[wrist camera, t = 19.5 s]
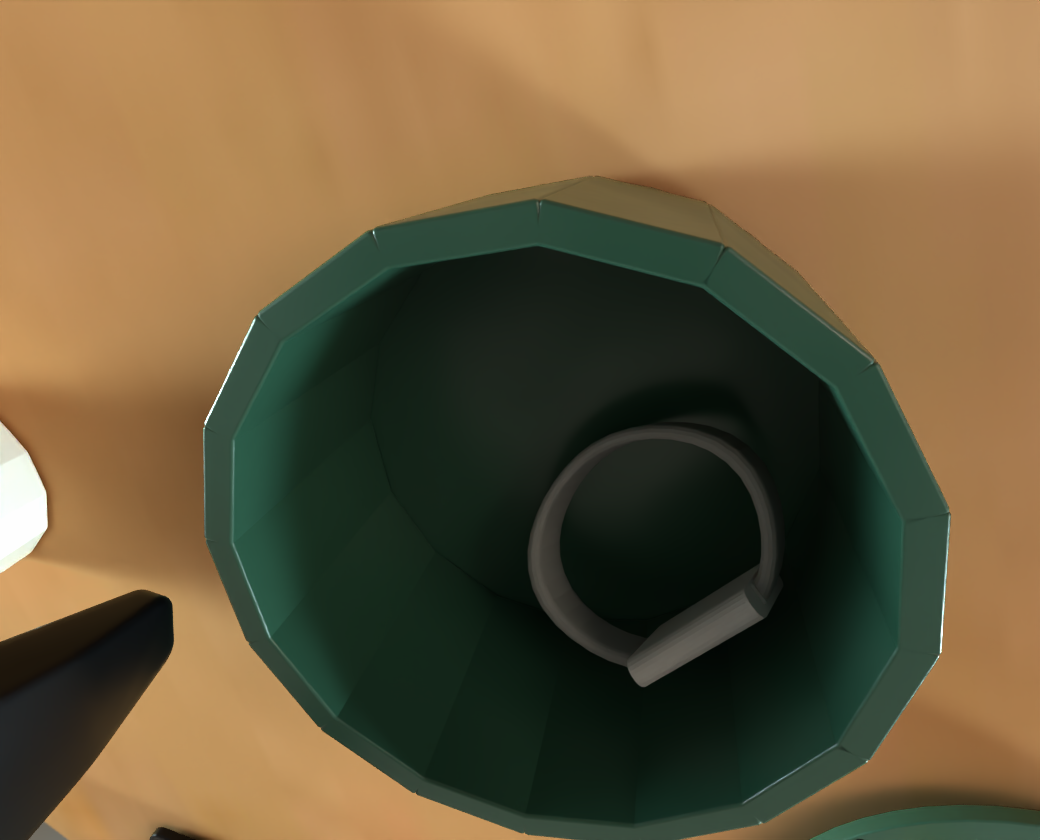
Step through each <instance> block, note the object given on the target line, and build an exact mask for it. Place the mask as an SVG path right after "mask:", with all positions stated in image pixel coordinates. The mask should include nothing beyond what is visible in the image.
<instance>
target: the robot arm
mask: <svg viewBox="0 0 1040 840" xmlns="http://www.w3.org/2000/svg"><path fill="white" fill-rule="evenodd" d="M173 643H174V632H173V609H172V603H171V601H170V599H169V598H167V597H166V596H163V595H160V594H157V593H154V592H151V591H148V590H136V591H133V592H130V593H127V594H125V595H122V596H119V597H117V598H114V599H112V600H109V601H106V602H104V603H101V604H98V605H96V606H93V607H91V608H88V609H85V610H83V611H80V612H77V613H75V614H72V615H70V616H67V617H64V618H62V619H59V620H56V621H54V622H51V623H49V624H46V625H43V626H41V627H38V628H36V629H33V630H30V631H28V632H25V633H22V634H20V635H17V636H15V637H12V638H9V639H7V640H4V641H1V642H0V840H28V839H29V838H30V837H31V836H32V835H33V833H34V832H35V831H36V830H37V829H38V828H39V826H40V825H41V824H42V823H43V822H44V821H45V819H46V818H47V817H48V816H49V815H50V814H51V812H52V811H53V810H54V809H55V808H56V807H57V805H58V804H59V803H60V802H61V801H62V800H63V798H64V797H65V796H66V795H67V794H68V793H69V791H70V790H71V789H72V788H73V787H74V786H75V784H76V783H77V782H78V781H79V780H80V778H81V777H82V776H83V775H84V774H85V772H86V771H87V770H88V769H89V768H90V766H91V765H92V764H93V762H94V761H95V760H96V758H97V757H98V756H99V754H100V753H101V752H102V750H103V749H104V748H105V746H106V745H107V743H108V742H109V741H110V739H111V738H112V736H113V735H114V734H115V732H116V731H117V729H118V728H119V727H120V725H121V724H122V722H123V721H124V720H125V718H126V717H127V715H128V714H129V713H130V711H131V710H132V708H133V707H134V706H135V704H136V703H137V701H138V700H139V699H140V697H141V696H142V694H143V693H144V692H145V690H146V689H147V687H148V686H149V685H150V683H151V682H152V680H153V679H154V678H155V676H156V675H157V673H158V672H159V671H160V669H161V668H162V666H163V665H164V664H165V662H166V661H167V659H168V657H169V655H170V653H171V651H172V648H173ZM150 840H195V839H192V838H190V837H187V836H185V835H182V834H179V833H177V832H174V831H172V830H169V829H167V828H163V827H159V828H157V829H156V831H155V832H154V833H153V835H152V836H151V837H150ZM856 840H863V839H856Z"/></svg>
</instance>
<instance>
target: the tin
mask: <svg viewBox="0 0 1040 840" xmlns="http://www.w3.org/2000/svg"><path fill="white" fill-rule="evenodd" d="M663 422H689V423H695V424H701V425H707V426H711V427H714V428H717V429H719V430H722V431H725V432H728V433H730V434H732V435H734V436H735V437H737V438H738V439H740V440H741V441H743V442H744V443H746V444H747V445H749V446H750V447H751V448H752V450H753V451H754V452H755V453H756V454H757V455H758V456H759V457H760V458H761V459H762V461H763V462H764V463H765V465H766V467H767V469H768V471H769V473H770V474H771V476H772V478H773V480H774V482H775V485H776V489H777V492H778V495H779V498H780V501H781V506H782V512H783V518H784V524H785V550H784V557H783V564H782V568H781V571H780V574H779V576H780V577H781V579H782V581H783V588H782V589H781V591H780V593H779V595H778V597H777V599H776V601H775V602H774V604H773V606H772V608H771V610H770V612H769V613H768V615H767V617H766V618H764V619H762V620H761V621H759V622H757V623H755V624H754V625H752V626H750V627H748V628H747V629H745V630H743V631H742V632H740V633H738V634H736V635H735V636H733V637H731V638H729V639H728V640H726V641H724V642H722V643H721V644H719V645H717V646H715V647H714V648H712V649H710V650H709V651H707V652H705V653H703V654H702V655H700V656H698V657H696V658H695V659H693V660H691V661H689V662H688V663H686V664H684V665H682V666H681V667H679V668H677V669H676V670H674V671H672V672H670V673H669V674H667V675H665V676H663V677H662V678H660V679H658V680H656V681H655V682H653V683H651V684H649V685H648V686H646V687H641V686H639V685H638V684H637V683H636V682H635V680H634V679H633V678H632V676H631V674H630V672H629V670H628V667H625V666H623V665H620V664H617V663H614V662H611V661H608V660H606V659H604V658H602V657H600V656H598V655H596V654H594V653H592V652H590V651H588V650H587V649H585V648H584V647H582V646H581V645H579V644H578V643H576V642H575V641H573V640H572V639H571V638H570V637H568V636H567V635H566V634H565V633H564V632H563V631H562V630H561V629H560V628H558V627H557V626H556V625H555V624H554V623H553V621H552V620H551V619H550V617H549V616H548V615H547V614H546V612H545V611H544V610H543V608H542V607H541V605H540V603H539V601H538V599H537V597H536V595H535V593H534V591H533V589H532V585H531V580H530V576H529V572H528V545H529V539H530V533H531V530H532V526H533V523H534V520H535V517H536V514H537V512H538V510H539V508H540V506H541V504H542V501H543V499H544V497H545V496H546V494H547V492H548V491H549V489H550V487H551V486H552V484H553V482H554V481H555V480H556V478H557V477H558V476H559V474H560V473H561V472H562V470H563V469H564V468H565V467H566V466H567V465H568V464H569V463H570V462H571V461H572V460H573V459H574V458H575V457H576V456H577V455H578V454H579V453H580V452H581V451H583V450H584V449H585V448H587V447H588V446H589V445H591V444H592V443H593V442H595V441H597V440H599V439H601V438H603V437H605V436H607V435H609V434H612V433H615V432H618V431H621V430H625V429H628V428H632V427H637V426H642V425H648V424H656V423H663ZM203 445H204V529H205V538H206V544H207V546H208V549H209V551H210V554H211V556H212V558H213V561H214V563H215V566H216V568H217V571H218V573H219V575H220V578H221V580H222V583H223V585H224V588H225V590H226V592H227V595H228V597H229V600H230V602H231V605H232V607H233V609H234V612H235V614H236V617H237V619H238V621H239V624H240V626H241V629H242V631H243V634H244V636H245V638H246V640H247V641H248V642H249V645H250V646H251V648H252V649H253V650H254V651H255V652H256V654H257V655H258V656H259V657H260V658H261V659H262V661H263V662H264V663H265V664H266V665H267V667H268V668H269V669H270V670H271V671H272V673H273V674H274V675H275V676H276V677H277V678H278V680H279V681H280V682H281V683H282V684H283V686H284V687H285V688H286V689H287V690H288V691H289V693H290V694H291V695H292V696H293V697H294V699H295V700H296V701H297V702H298V703H299V704H300V706H301V707H302V708H303V709H304V710H305V712H306V713H307V714H308V715H309V716H310V717H311V719H312V720H313V721H314V722H315V723H316V725H317V726H318V727H321V730H322V731H324V732H325V733H326V734H328V735H329V736H331V737H332V738H334V739H335V740H337V741H338V742H340V743H341V744H342V745H344V746H345V747H347V748H348V749H350V750H351V751H353V752H354V753H356V754H357V755H358V756H360V757H361V758H363V759H364V760H366V761H367V762H369V763H370V764H371V765H373V766H374V767H376V768H377V769H379V770H380V771H382V772H383V773H385V774H386V775H387V776H389V777H390V778H392V779H393V780H395V781H396V782H398V783H399V784H401V785H402V786H403V787H405V788H406V789H408V790H409V791H411V792H412V793H415V792H416V794H417V795H419V796H422V797H424V798H427V799H430V800H433V801H435V802H438V803H441V804H443V805H446V806H449V807H452V808H454V809H457V810H460V811H462V812H465V813H468V814H470V815H473V816H476V817H479V818H481V819H484V820H487V821H489V822H492V823H495V824H498V825H500V826H503V827H506V828H508V829H511V830H514V831H516V832H519V833H524V832H525V833H526V834H527V835H534V836H544V837H554V838H564V839H574V840H680V839H686V838H691V837H696V836H702V835H707V834H712V833H718V832H723V831H728V830H734V829H739V828H744V827H750V826H755V825H759V824H761V823H766V822H768V821H769V820H771V819H773V818H775V817H776V816H778V815H780V814H781V813H783V812H785V811H786V810H788V809H790V808H791V807H793V806H795V805H796V804H798V803H800V802H802V801H803V800H805V799H807V798H808V797H810V796H812V795H813V794H815V793H817V792H818V791H820V790H822V789H823V788H825V787H827V786H829V785H830V784H832V783H834V782H835V781H837V780H839V779H840V778H842V777H844V776H845V775H847V774H849V773H850V772H852V771H854V770H855V769H857V768H859V767H861V766H862V765H864V764H866V763H867V761H868V760H870V759H871V758H872V756H873V755H874V754H875V752H876V751H877V749H878V748H879V746H880V745H881V743H882V742H883V740H884V739H885V737H886V736H887V734H888V733H889V731H890V730H891V728H892V727H893V725H894V724H895V722H896V721H897V719H898V718H899V716H900V715H901V713H902V712H903V710H904V709H905V707H906V706H907V704H908V703H909V702H910V700H911V699H912V697H913V696H914V694H915V693H916V691H917V690H918V688H919V687H920V685H921V684H922V682H923V681H924V679H925V678H926V676H927V675H928V673H929V672H930V670H931V669H932V667H933V666H934V664H935V663H936V661H937V660H938V658H939V654H941V650H942V636H943V621H944V607H945V592H946V577H947V563H948V548H949V534H950V519H951V514H950V512H949V506H948V504H947V502H946V500H945V498H944V496H943V494H942V492H941V490H940V488H939V486H938V484H937V482H936V480H935V478H934V476H933V474H932V472H931V469H930V467H929V465H928V463H927V461H926V459H925V457H924V455H923V453H922V451H921V449H920V447H919V445H918V443H917V441H916V439H915V437H914V435H913V432H912V430H911V428H910V426H909V424H908V422H907V420H906V418H905V416H904V414H903V412H902V410H901V408H900V406H899V404H898V402H897V400H896V397H895V395H894V393H893V391H892V389H891V387H890V385H889V383H888V381H887V379H886V377H885V375H884V373H883V371H882V369H881V367H880V365H879V363H878V362H877V361H876V360H875V359H874V358H873V356H872V355H871V354H870V353H869V352H868V351H867V349H866V348H865V347H864V346H863V345H862V344H861V343H860V342H859V340H858V339H857V338H856V337H855V336H854V335H853V334H852V333H851V331H850V330H849V329H848V328H847V327H846V326H845V325H844V324H843V322H842V321H841V320H840V319H839V318H838V317H837V316H836V315H835V313H834V312H833V311H832V310H831V309H830V308H829V307H828V306H827V304H826V303H825V302H824V301H823V300H822V299H821V298H820V297H819V295H818V294H817V293H816V292H815V291H814V290H813V289H812V288H811V286H810V285H809V284H808V283H807V282H806V281H805V280H804V279H803V277H802V276H801V275H800V274H799V273H798V272H797V271H796V270H794V269H793V268H792V267H791V266H789V265H788V264H787V263H785V262H784V261H783V260H782V259H780V258H779V257H778V256H776V255H775V254H774V253H773V252H771V251H770V250H769V249H767V248H766V247H765V246H764V245H762V244H761V243H760V242H759V241H758V240H757V239H756V238H754V237H753V236H752V235H751V234H749V233H748V232H746V231H745V230H743V229H742V228H740V227H739V226H738V225H737V224H735V223H734V222H733V221H731V220H730V219H729V218H728V217H726V216H725V215H724V214H722V213H721V212H720V211H719V210H717V209H716V208H715V207H713V206H712V205H710V204H707V203H706V202H704V201H700V200H695V199H691V198H687V197H683V196H679V195H675V194H671V193H668V192H664V191H661V190H658V189H655V188H652V187H646V186H640V185H634V184H629V183H625V182H621V181H616V180H612V179H608V178H604V177H600V176H595V177H593V176H587V177H582V178H577V179H571V180H566V181H560V182H555V183H550V184H542V185H538V186H534V187H528V188H523V189H517V190H512V191H507V192H501V193H496V194H491V195H486V196H483V197H479V198H476V199H472V200H469V201H465V202H462V203H458V204H455V205H451V206H448V207H444V208H441V209H437V210H434V211H430V212H427V213H423V214H420V215H416V216H412V217H409V218H405V219H402V220H398V221H395V222H391V223H388V224H384V225H381V226H377V227H375V228H374V229H372V230H368V231H366V232H365V233H364V234H362V235H361V236H360V237H358V238H357V239H356V240H354V241H353V242H352V243H350V244H349V245H348V246H346V247H345V248H344V249H342V250H341V251H340V252H338V253H337V254H336V255H334V256H333V257H332V258H330V259H329V260H327V261H326V262H325V263H323V264H322V265H321V266H319V267H318V268H317V269H315V270H314V271H313V272H311V273H310V274H309V275H307V276H306V277H305V278H303V279H302V280H301V281H299V282H298V283H297V284H295V285H294V286H293V287H291V288H290V289H289V290H287V291H286V292H284V293H283V294H282V295H280V296H279V297H278V298H276V299H275V300H274V301H272V302H271V303H270V304H268V305H267V306H266V307H264V308H263V309H262V310H260V312H259V313H258V315H257V316H255V318H254V320H253V322H252V324H251V326H250V328H249V330H248V332H247V335H246V337H245V339H244V341H243V343H242V345H241V347H240V349H239V351H238V354H237V356H236V358H235V360H234V362H233V364H232V366H231V368H230V370H229V372H228V375H227V377H226V379H225V381H224V383H223V385H222V387H221V389H220V391H219V394H218V396H217V398H216V400H215V402H214V404H213V406H212V408H211V410H210V413H209V415H208V417H207V419H206V421H205V427H204V429H203ZM560 557H561V561H562V565H563V569H564V573H565V575H566V577H567V579H568V581H569V583H570V585H571V587H572V589H573V590H574V592H575V593H576V594H577V595H578V597H579V598H580V599H581V601H582V602H583V603H584V604H585V605H586V606H587V607H588V608H589V609H591V610H592V611H593V612H594V613H595V614H596V615H597V616H599V617H600V618H602V619H603V620H605V621H606V622H608V623H609V624H611V625H613V626H615V627H617V628H619V629H621V630H623V631H625V632H627V633H630V634H634V635H637V636H640V637H644V638H649V636H650V635H651V634H652V633H653V632H654V631H655V630H656V629H657V628H658V627H659V626H660V625H662V624H663V623H665V622H667V621H668V620H670V619H671V618H673V617H675V616H676V615H678V614H680V613H681V612H683V611H684V610H686V609H688V608H689V607H691V606H692V605H694V604H696V603H697V602H699V601H700V600H702V599H704V598H705V597H707V596H708V595H710V594H712V593H713V592H715V591H716V590H718V589H720V588H721V587H723V586H724V585H726V584H728V583H729V582H731V581H733V580H734V579H736V578H737V577H739V576H741V575H742V574H744V573H745V572H747V571H749V570H750V569H752V568H753V567H755V566H757V565H758V564H760V559H761V531H760V526H759V520H758V514H757V511H756V509H755V506H754V503H753V500H752V497H751V495H750V493H749V491H748V489H747V488H746V486H745V484H744V483H743V481H742V479H741V477H740V476H739V475H738V474H737V473H736V472H735V471H734V470H733V469H732V468H731V467H730V465H729V464H728V463H727V462H725V461H724V460H722V459H721V458H719V457H718V456H717V455H715V454H714V453H712V452H711V451H708V450H706V449H704V448H701V447H699V446H696V445H694V444H691V443H686V442H681V441H676V440H670V439H646V440H638V441H634V442H631V443H629V444H626V445H624V446H622V447H620V448H618V449H616V450H614V451H613V452H612V453H610V454H609V455H607V456H606V457H604V458H603V459H602V460H601V461H600V462H599V463H598V464H596V465H595V466H594V467H593V468H592V469H591V470H590V472H589V473H588V474H587V475H586V477H585V478H584V479H583V480H582V482H581V483H580V485H579V486H578V488H577V490H576V491H575V493H574V495H573V497H572V499H571V501H570V503H569V505H568V508H567V510H566V513H565V516H564V520H563V523H562V528H561V535H560Z"/></svg>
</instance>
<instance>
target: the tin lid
mask: <svg viewBox="0 0 1040 840" xmlns="http://www.w3.org/2000/svg"><path fill="white" fill-rule="evenodd" d="M856 839H863V840H1040V811H1038V810H1031V809H1022V808H1013V807H1004V806H988V805H944V806H925V807H917V808H910V809H903V810H895V811H890V812H886V813H881V814H877V815H873V816H868V817H864V818H860V819H858V820H855V821H852V822H849V823H846V824H843V825H840V826H837V827H834V828H832V829H830V830H828V831H826V832H824V833H822V834H820V835H818V836H815V837H813V838H811V839H810V840H856Z"/></svg>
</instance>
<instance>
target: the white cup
mask: <svg viewBox="0 0 1040 840" xmlns="http://www.w3.org/2000/svg"><path fill="white" fill-rule="evenodd" d="M47 527H48V518H47V495H46V490H45V488H44V486H43V484H42V481H41V479H40V477H39V475H38V472H37V470H36V468H35V466H34V464H33V462H32V460H31V458H30V456H29V454H28V452H27V451H26V449H25V448H24V447H23V446H22V445H21V444H20V442H19V441H18V440H17V439H16V438H15V437H14V436H13V434H12V433H11V432H10V431H9V430H8V429H7V428H6V427H5V426H4V424H3V423H2V422H1V421H0V573H2V572H3V571H5V570H6V569H8V568H9V567H11V566H12V565H14V564H15V563H16V562H18V561H19V560H21V559H22V558H24V557H25V556H27V555H28V554H29V553H31V552H32V551H33V549H34V548H35V546H36V545H37V543H38V542H39V540H40V538H41V537H42V535H43V534H44V532H45V531H46V529H47Z"/></svg>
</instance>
